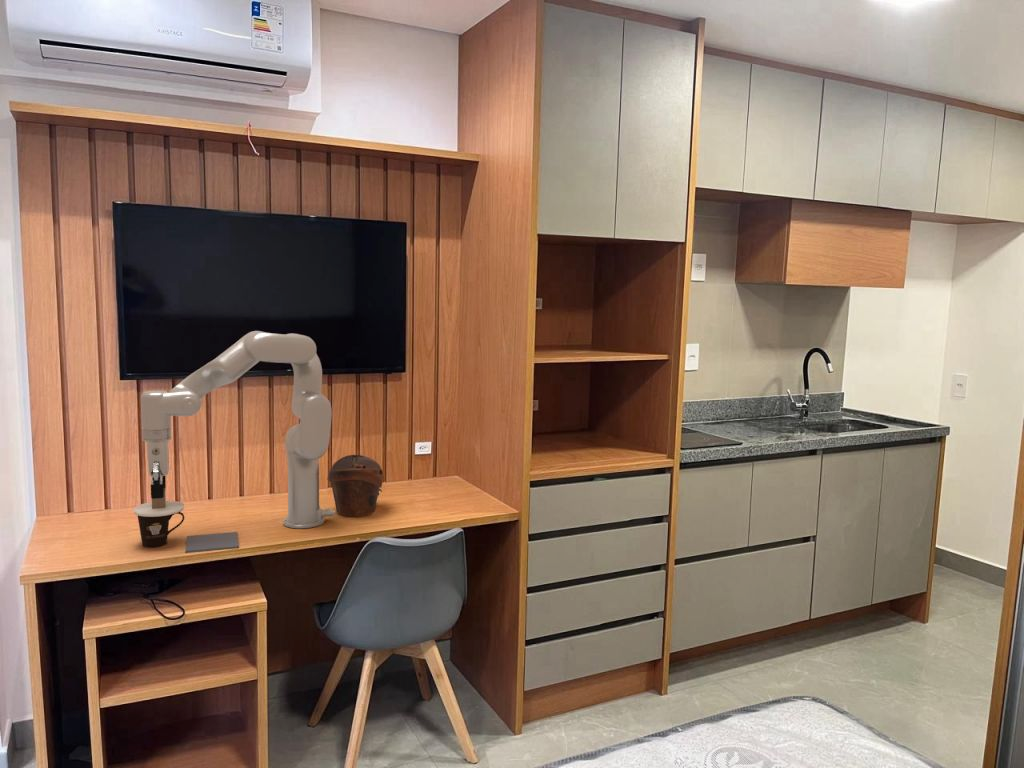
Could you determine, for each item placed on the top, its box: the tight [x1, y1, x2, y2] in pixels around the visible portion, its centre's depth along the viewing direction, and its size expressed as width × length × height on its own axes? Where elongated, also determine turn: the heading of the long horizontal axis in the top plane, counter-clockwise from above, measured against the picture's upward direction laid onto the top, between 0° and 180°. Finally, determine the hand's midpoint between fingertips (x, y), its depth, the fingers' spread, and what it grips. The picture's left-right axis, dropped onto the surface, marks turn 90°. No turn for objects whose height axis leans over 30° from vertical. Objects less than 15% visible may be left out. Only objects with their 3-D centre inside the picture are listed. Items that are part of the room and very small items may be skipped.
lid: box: [133, 488, 185, 517], centre depth 220 cm, size 13×13×6 cm
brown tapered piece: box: [327, 454, 384, 518], centre depth 257 cm, size 18×20×18 cm
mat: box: [185, 531, 240, 554], centre depth 224 cm, size 14×14×1 cm
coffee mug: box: [137, 511, 185, 549], centre depth 221 cm, size 12×9×10 cm
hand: (158, 493), depth 220 cm, fingers open, 9 cm apart
